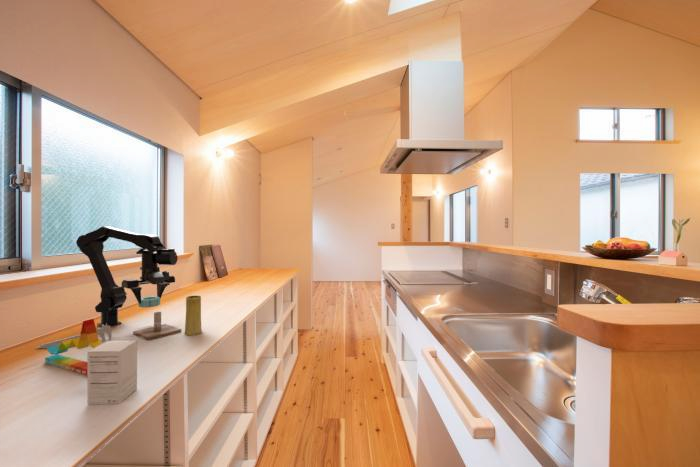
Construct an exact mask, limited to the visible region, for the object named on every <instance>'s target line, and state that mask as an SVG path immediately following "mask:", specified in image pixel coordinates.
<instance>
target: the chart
mask: <svg viewBox="0 0 700 467" xmlns="http://www.w3.org/2000/svg"><path fill="white" fill-rule="evenodd" d="M82 321H83V320H82ZM96 329H97V328H96V323H95V320H94V318H91V319H87V320H84V321H83V322H82V325H81V330H80V337H79V338H76V339H69V340H65V341H62V342H61V344H59V345H55V346H51V347H48V348H46V350H47V351H48V353H49V354H50V356H46V357H44V362H45V364H48V365H50V366H51V365H52V366H54V367H58V368H62V369H65V370H69V371H72V372H75V373H78V374H82V375H85V376H87V367H88V361H84V360H82V359H78V358H75V357H70V356H66V355H63V353H66V352H68V350H69V349H72V348H75V347H76V349H77V350H80V349H83V348H86V347H89V346H90V347H91V348H92V349H94V348H96V347H97V346H99V345H101V344H103V343H104V342H102V341H101V340H99V335H98V334H97V331H96Z"/></svg>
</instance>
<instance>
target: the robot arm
mask: <svg viewBox="0 0 700 467" xmlns="http://www.w3.org/2000/svg"><path fill="white" fill-rule="evenodd" d="M110 238H112V239H116V240H121V241H124V242H128V243H132V244H134V245H135V246H137V247H139V250H137V251H136V255H141V266H140V267H139V270H141V276H140V277H139V279H134V278H131V279H128V278H127V279H123V280H122V281H121V285H120V286H119V285H118V284H116V282H115V279H114V277H113V275H112V272H111V269H110V267H109V266H108V263H107V261H106V258H105V256H104V253H103V252H104V248H105V245H104V243H105V242H107V241H108V240H109V239H110ZM76 245H77V247H78V249H79V251H80V252H81V253H82V254H84V255H85V256H86V257H87V258H88V259H89V262H90V265H91V267H92V268H93V272H94V274H95V276H96V278H97V281H98V283H99V285H100V287H101V288H100V290H101V291H100V296H99V297H100V302H99V303H97V305H96V306H94V309H95V312H96V313H100V322H99V323H97V326H100V327H102V324H103V325H106V323H107V325H108V326H110V327H112V326H116V325H121V324H122V322H121V321H119V309H120V308H121V309H122V308H123V306H124V303H126V300H127V295H128V293H127V292H126V290H125V289H128V290H131V292H132V293H133V295H134V297H135V299H136V301H137V304H138V305H139V304H141V298H142V293H141V292H142V289H143V287H141V285H148V284H151V285H156V297H160V300H161V298H162V296H163V293H164V291H165V289H166V287H168V286H170V285H171V284H172V283H175V282H176V277H175V276H174V275H171V274H170V272H169V271H168V270H164V271H160V270H161V269H160V267H159V265H160V266H175V265H176V264H177V262H178V258H179V257H178V253H177V252H176V251H175V248H166V247H165V246H164V245H163V243H162V242H161V239H160V237H159V236H158V235H157V234H145V233H142V234H141V233H137V232H131V231H128V230H125V229H120V228H117V227H116V228H115V227H113V226H105V225H104V226H101V227H99V228H97V229H94V230H93V231H90V232H88V233H86V234H82V235H80V236H78V237H77V240H76Z"/></svg>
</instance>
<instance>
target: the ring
mask: <svg viewBox="0 0 700 467" xmlns="http://www.w3.org/2000/svg"><path fill="white" fill-rule="evenodd" d="M159 305H161V299H160V297H157V295H155V296H145V297H141V304H139V303H138V307H139V308H142V309H143V308H146V309H147V308H153V307H159Z"/></svg>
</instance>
